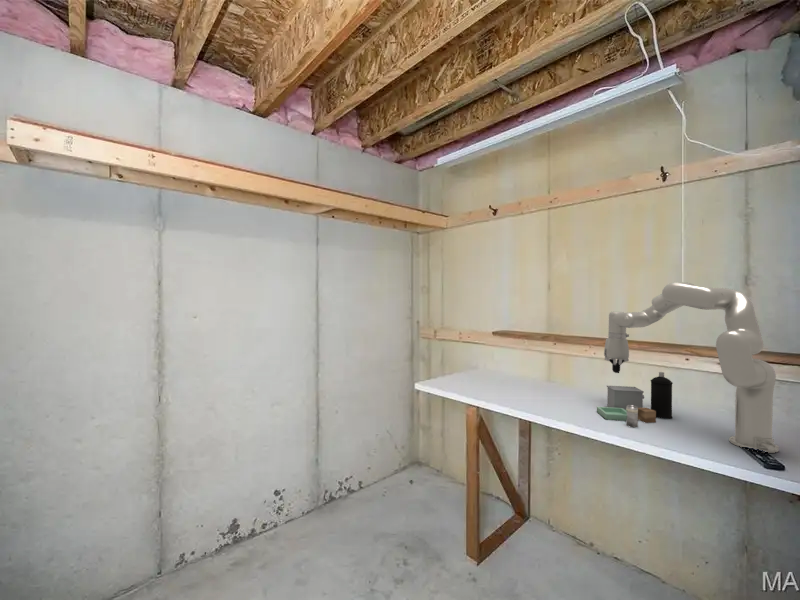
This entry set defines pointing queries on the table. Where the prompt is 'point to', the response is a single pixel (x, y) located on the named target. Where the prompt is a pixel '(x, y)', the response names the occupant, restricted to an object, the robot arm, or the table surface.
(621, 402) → the box
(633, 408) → the fuse
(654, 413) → the walnut block
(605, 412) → the tray
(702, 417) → the table surface
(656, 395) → the aerosol can
